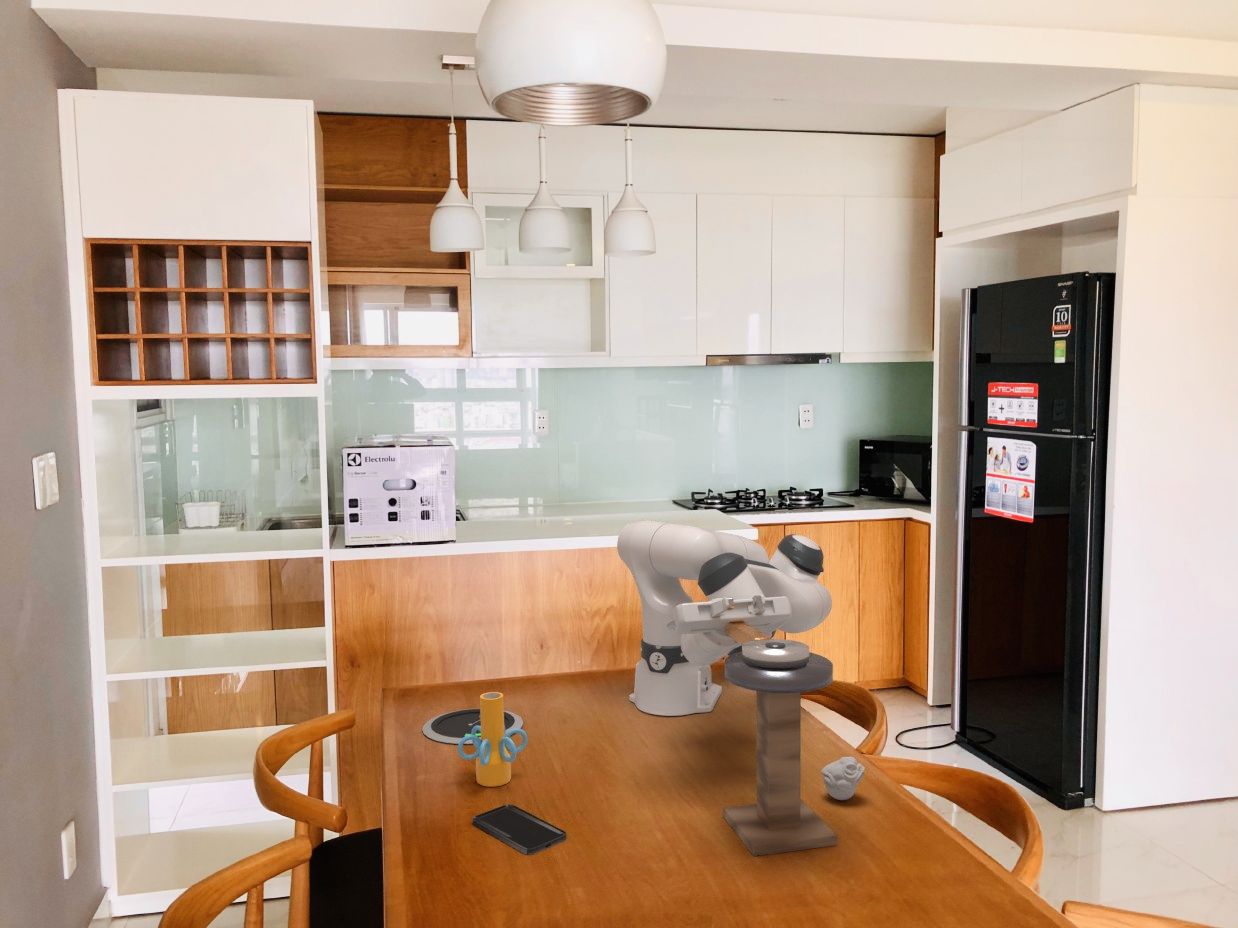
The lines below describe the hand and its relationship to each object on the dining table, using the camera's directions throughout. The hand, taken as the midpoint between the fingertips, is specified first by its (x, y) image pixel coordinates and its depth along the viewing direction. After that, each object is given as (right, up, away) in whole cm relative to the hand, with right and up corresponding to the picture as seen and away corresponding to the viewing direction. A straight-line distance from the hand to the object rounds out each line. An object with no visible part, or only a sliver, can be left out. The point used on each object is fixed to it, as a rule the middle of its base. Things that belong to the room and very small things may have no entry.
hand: (745, 600), depth 155 cm
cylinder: (-42, -33, +9) cm, 54 cm away
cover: (+1, -7, -5) cm, 9 cm away
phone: (-36, -34, -9) cm, 51 cm away
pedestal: (+4, -33, -11) cm, 35 cm away
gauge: (-50, -31, +36) cm, 69 cm away
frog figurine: (+16, -33, 0) cm, 36 cm away
